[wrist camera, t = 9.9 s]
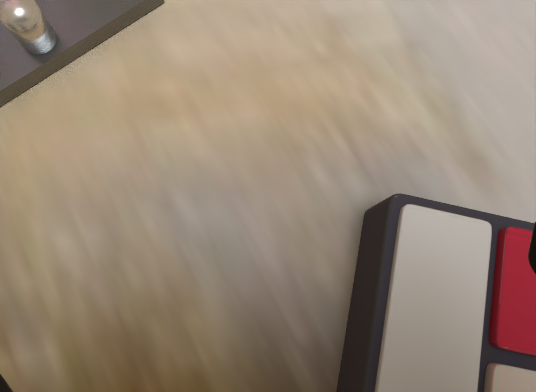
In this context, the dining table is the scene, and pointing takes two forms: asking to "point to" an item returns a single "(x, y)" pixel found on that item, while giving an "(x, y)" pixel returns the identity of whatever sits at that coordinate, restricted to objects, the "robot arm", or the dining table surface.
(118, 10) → the chassis plate
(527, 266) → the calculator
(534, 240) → the robot arm
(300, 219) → the dining table surface
